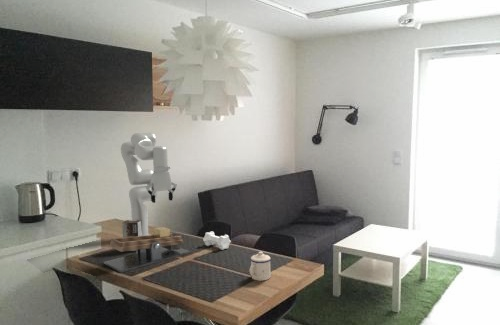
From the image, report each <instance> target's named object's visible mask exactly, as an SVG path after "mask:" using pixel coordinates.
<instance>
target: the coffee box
mask: <svg viewBox="0 0 500 325" xmlns="http://www.w3.org/2000/svg"><path fill="white" fill-rule="evenodd" d="M121 226H122V227H121V228H122V238H126V237H136V236H142V220H132V219H125V221H123V222H122V224H121ZM130 252H136V250H131V251H130Z"/></svg>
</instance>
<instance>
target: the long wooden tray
mask: <svg viewBox="0 0 500 325" xmlns="http://www.w3.org/2000/svg"><path fill="white" fill-rule="evenodd" d="M173 234H174V233H173V232H170V237H165V238H156V239H154V234H151V235H146V236H136V237H126V238H123V237H117V238H111V239H110V242H109V247H110V248H112V249H114V250H117V251H118V252H121V253H122V252H132V251H131V250H139V249H147V248H151V245H150V243H153V242H157V241H160V242H161V247H163V248H166V249H168V250H178V249H180V248H182V246H181V245H183V244H184V239H182V238H183V237H182V236H183V235H175V236H173Z"/></svg>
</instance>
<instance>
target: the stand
mask: <svg viewBox="0 0 500 325" xmlns="http://www.w3.org/2000/svg"><path fill="white" fill-rule="evenodd" d="M150 245H151V248H147V249H139V250H136V251H135V252H136V253H134V254H129V255H126V256H121V257H117V258H113V259H110V260H105V261H103V264H104V265H106V266H107V267H109V268H112V269H113V270H115V271H117V272H118V273H120V274H121V273H125V272H127V271H128V272H129V271H131V270H132V271H133V270H136V269H139V268H143V267H145V266H150V265H153V264H156V263H159V262H160V263H161V262H164V261H167V260H171V259H174V258H177V257H181V256H185V255H188V254H189V255H190V254H191V251H190V250H188V249H185V248H182V247H181V248H180V249H178V250H168V249H166V248H163V247H161V242H160V241H157V242H153V243H150Z"/></svg>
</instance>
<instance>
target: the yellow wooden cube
mask: <svg viewBox="0 0 500 325" xmlns="http://www.w3.org/2000/svg"><path fill="white" fill-rule="evenodd" d="M170 233H171V228H167V227H165V226H164V227H163V226H162V227H154V228H153V235H154V239H156V238H165V237H170Z"/></svg>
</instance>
